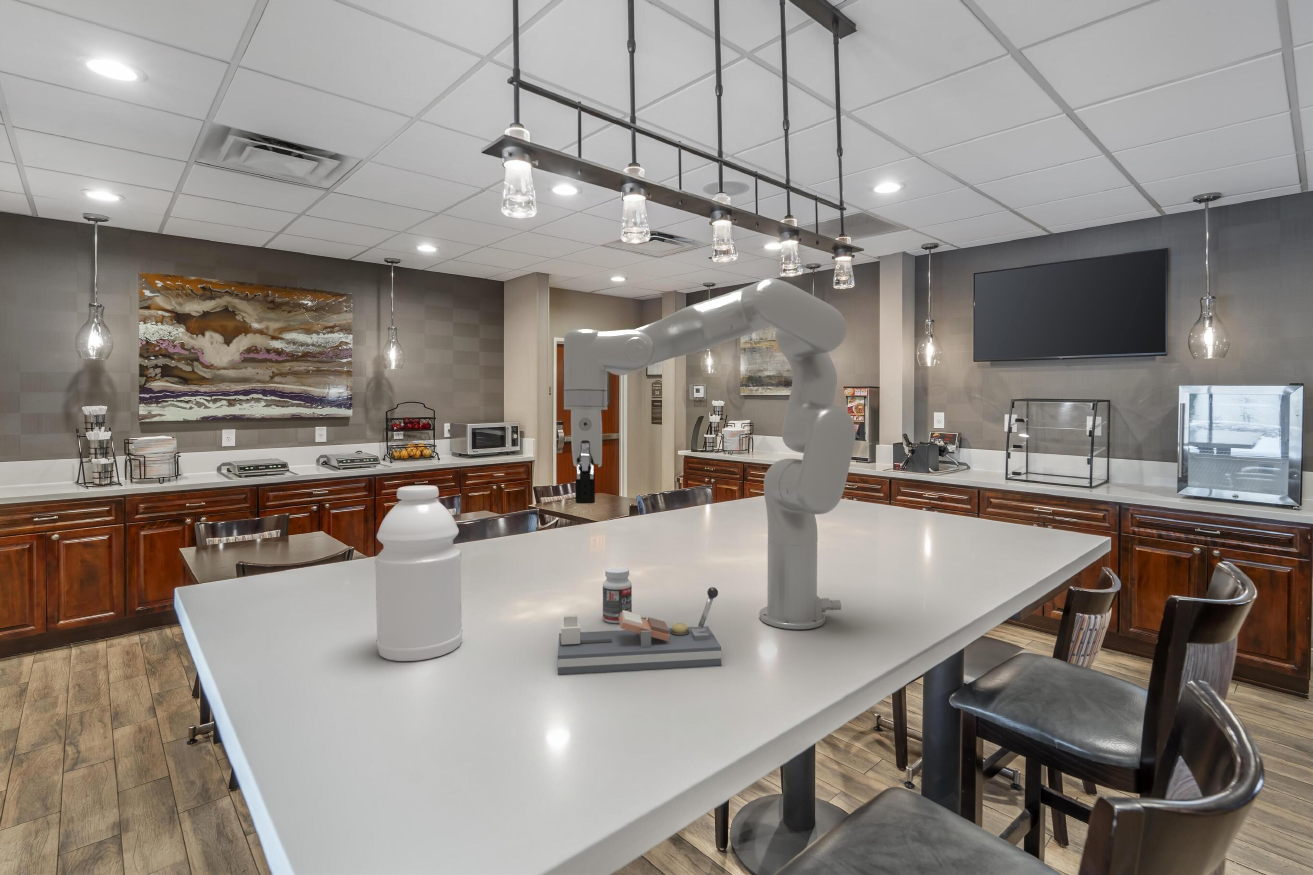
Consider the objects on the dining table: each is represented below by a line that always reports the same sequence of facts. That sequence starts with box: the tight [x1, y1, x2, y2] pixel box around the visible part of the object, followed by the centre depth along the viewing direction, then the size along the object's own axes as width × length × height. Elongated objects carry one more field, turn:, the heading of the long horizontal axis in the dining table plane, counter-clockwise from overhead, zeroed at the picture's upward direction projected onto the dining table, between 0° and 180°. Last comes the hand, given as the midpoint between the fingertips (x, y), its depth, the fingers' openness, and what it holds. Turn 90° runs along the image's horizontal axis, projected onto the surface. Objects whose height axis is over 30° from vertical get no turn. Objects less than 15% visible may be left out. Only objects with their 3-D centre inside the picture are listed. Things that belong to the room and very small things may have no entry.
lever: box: [697, 586, 719, 629], centre depth 106 cm, size 2×2×7 cm
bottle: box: [374, 484, 463, 662], centre depth 109 cm, size 14×14×28 cm
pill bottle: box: [602, 566, 633, 624], centre depth 124 cm, size 6×6×10 cm
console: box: [557, 616, 722, 676], centre depth 104 cm, size 26×10×6 cm, turn 98°
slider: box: [560, 614, 581, 645], centre depth 103 cm, size 3×2×4 cm
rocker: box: [619, 610, 670, 641], centre depth 104 cm, size 8×5×2 cm, turn 98°
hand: (585, 499), depth 110 cm, fingers open, 9 cm apart
